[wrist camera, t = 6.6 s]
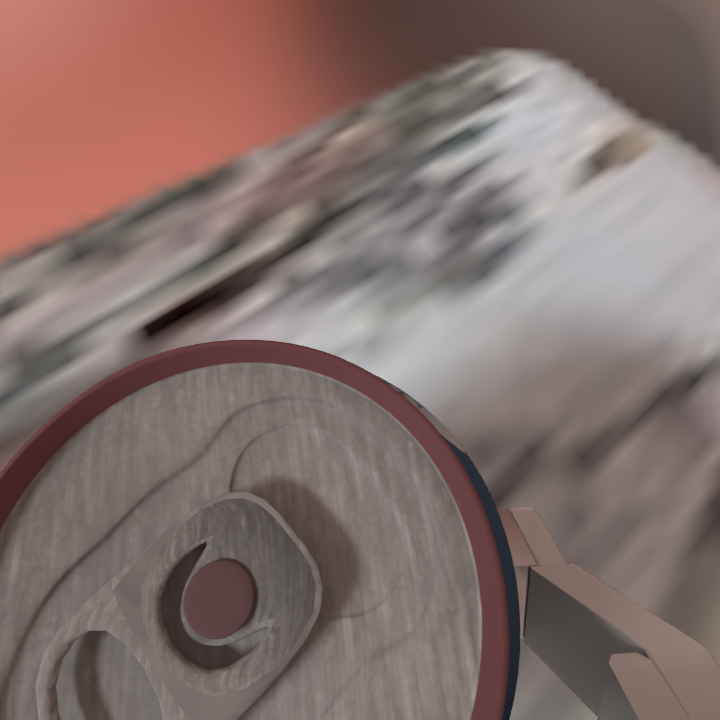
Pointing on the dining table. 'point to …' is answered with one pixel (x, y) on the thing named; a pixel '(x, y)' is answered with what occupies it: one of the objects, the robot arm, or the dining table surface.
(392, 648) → the soda can
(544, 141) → the dining table surface
